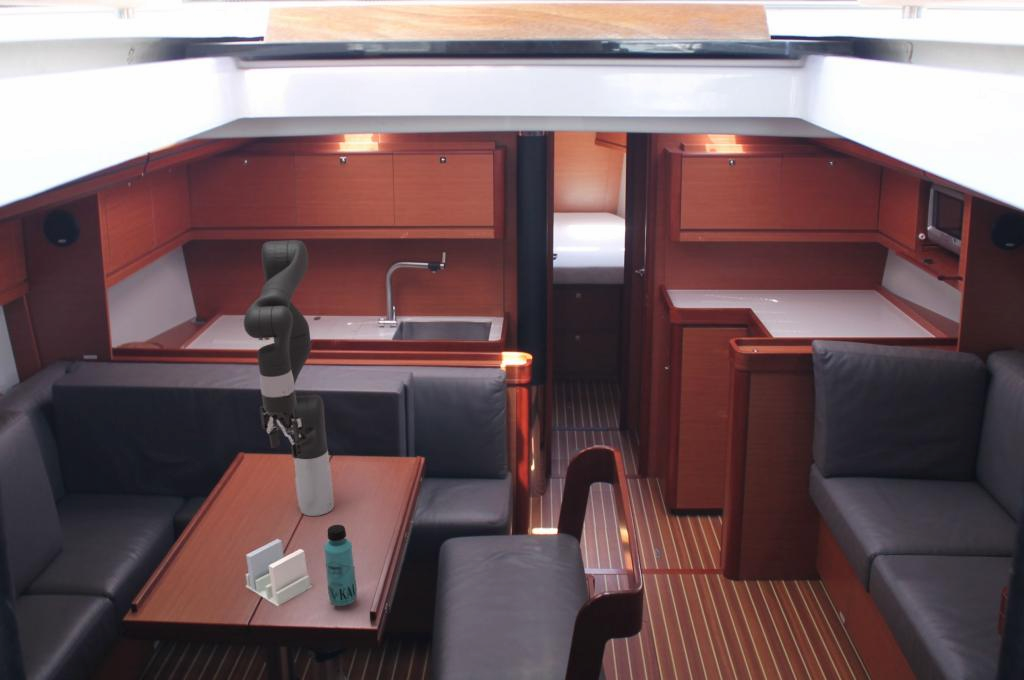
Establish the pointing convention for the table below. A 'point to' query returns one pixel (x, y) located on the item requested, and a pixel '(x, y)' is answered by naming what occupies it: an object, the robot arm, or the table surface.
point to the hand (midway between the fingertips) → (286, 451)
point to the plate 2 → (287, 571)
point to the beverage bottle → (340, 567)
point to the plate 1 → (263, 560)
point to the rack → (282, 595)
